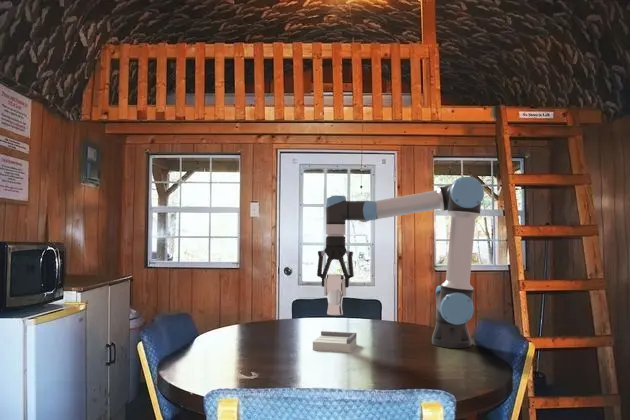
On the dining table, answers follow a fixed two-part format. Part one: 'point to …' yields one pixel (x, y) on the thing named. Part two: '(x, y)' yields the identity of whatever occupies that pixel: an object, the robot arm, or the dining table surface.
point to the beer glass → (334, 293)
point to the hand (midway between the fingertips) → (335, 295)
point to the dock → (335, 341)
